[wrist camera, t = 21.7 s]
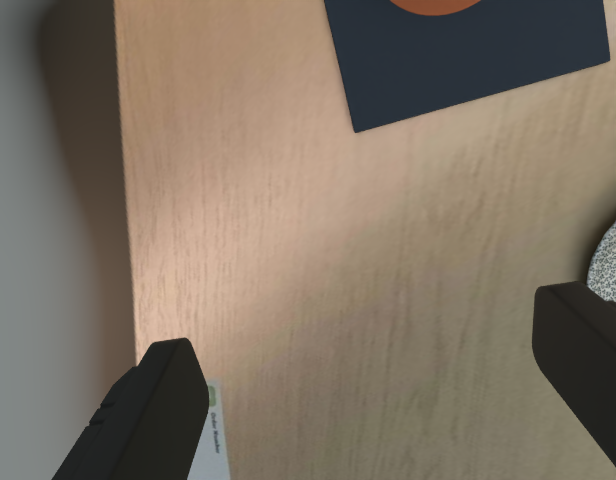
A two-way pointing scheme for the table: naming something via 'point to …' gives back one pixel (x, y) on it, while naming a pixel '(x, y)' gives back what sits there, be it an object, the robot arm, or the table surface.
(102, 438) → the robot arm
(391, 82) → the placemat
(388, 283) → the table surface
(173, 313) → the table surface
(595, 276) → the pastry
